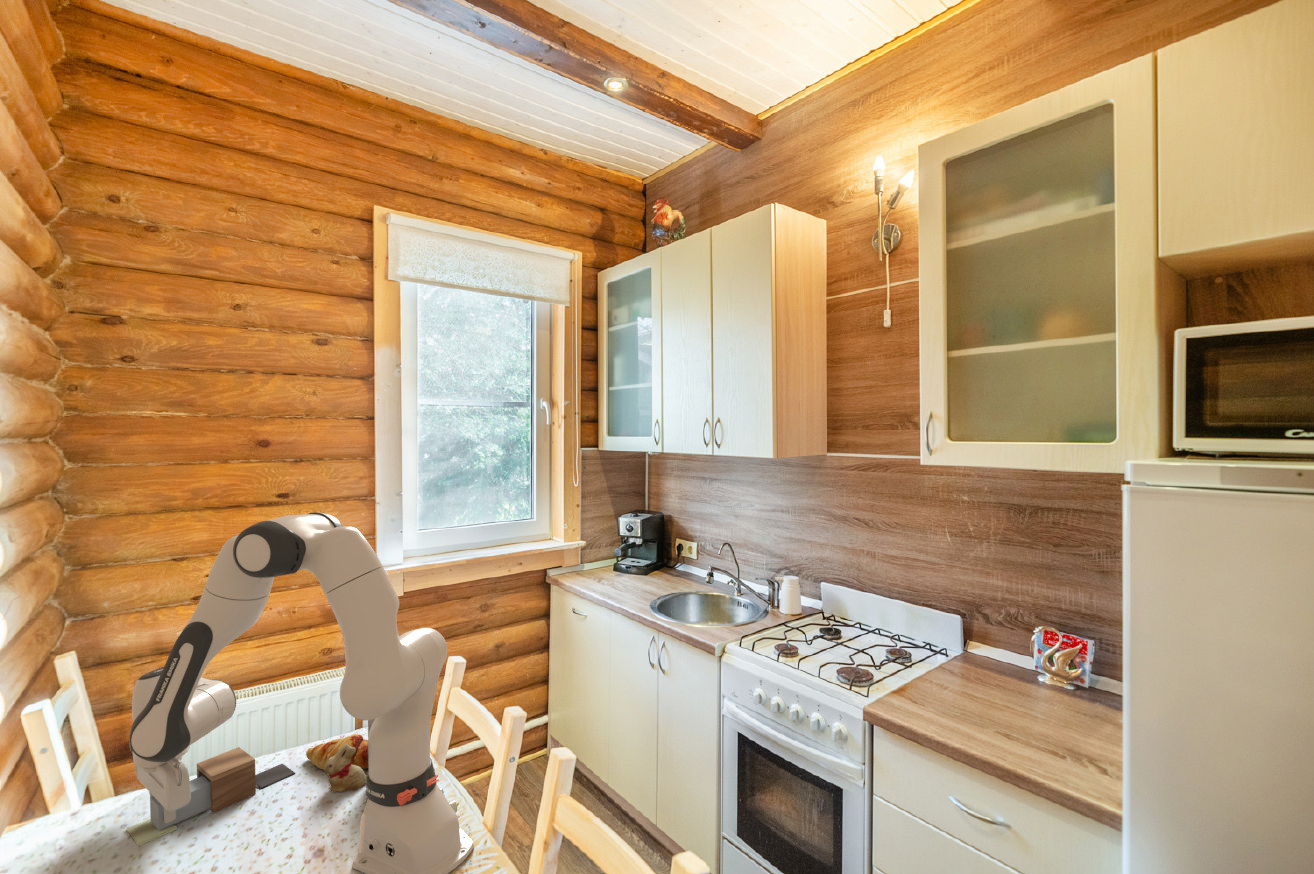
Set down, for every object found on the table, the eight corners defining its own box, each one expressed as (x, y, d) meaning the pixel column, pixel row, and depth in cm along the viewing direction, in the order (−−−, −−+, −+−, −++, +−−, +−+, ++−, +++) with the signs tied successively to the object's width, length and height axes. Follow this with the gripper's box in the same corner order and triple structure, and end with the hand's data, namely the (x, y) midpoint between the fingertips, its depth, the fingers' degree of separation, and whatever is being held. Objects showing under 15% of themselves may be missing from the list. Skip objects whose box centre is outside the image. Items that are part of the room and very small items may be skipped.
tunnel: (296, 775, 139) (296, 741, 139) (139, 846, 115) (138, 806, 115) (280, 763, 144) (279, 731, 143) (125, 829, 120) (124, 791, 120)
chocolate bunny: (338, 778, 138) (337, 735, 137) (370, 779, 137) (370, 736, 137) (322, 792, 132) (321, 748, 132) (356, 794, 132) (355, 749, 131)
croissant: (299, 780, 143) (286, 760, 139) (323, 741, 151) (312, 721, 147) (382, 785, 140) (371, 764, 136) (402, 745, 149) (392, 724, 145)
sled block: (212, 806, 127) (211, 783, 127) (158, 830, 119) (158, 805, 119) (203, 798, 130) (202, 775, 129) (150, 821, 122) (149, 796, 122)
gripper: (199, 756, 118) (201, 825, 119) (164, 726, 130) (166, 789, 130) (159, 771, 113) (161, 843, 113) (126, 739, 125) (128, 804, 125)
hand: (163, 814), depth 122 cm, fingers open, 5 cm apart
